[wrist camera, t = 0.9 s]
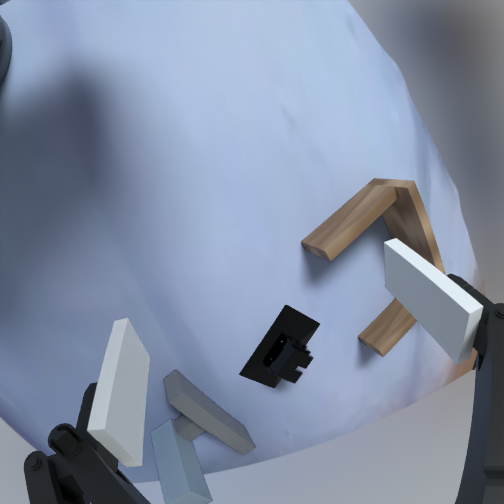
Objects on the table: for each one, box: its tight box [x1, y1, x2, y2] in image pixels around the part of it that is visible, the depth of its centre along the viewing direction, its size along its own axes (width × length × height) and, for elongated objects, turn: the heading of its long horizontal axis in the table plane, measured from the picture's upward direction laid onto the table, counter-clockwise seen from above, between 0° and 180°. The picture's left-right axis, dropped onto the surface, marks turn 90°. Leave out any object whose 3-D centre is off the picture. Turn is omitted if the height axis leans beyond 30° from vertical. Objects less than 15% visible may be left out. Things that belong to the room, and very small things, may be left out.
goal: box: [301, 178, 446, 357], centre depth 38 cm, size 19×13×7 cm
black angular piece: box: [239, 305, 320, 388], centre depth 37 cm, size 13×8×5 cm, turn 145°
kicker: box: [151, 370, 256, 504], centre depth 31 cm, size 14×9×12 cm, turn 36°
